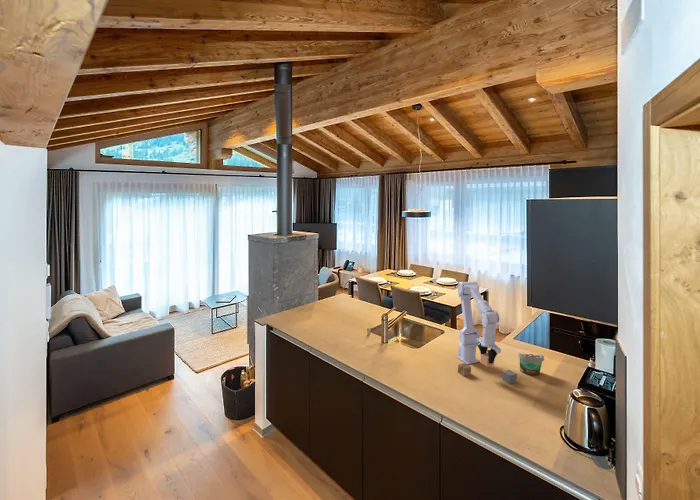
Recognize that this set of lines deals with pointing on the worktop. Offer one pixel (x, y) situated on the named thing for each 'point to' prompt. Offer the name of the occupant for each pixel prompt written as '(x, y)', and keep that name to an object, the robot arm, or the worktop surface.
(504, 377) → the charcoal block
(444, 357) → the worktop surface
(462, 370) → the walnut block
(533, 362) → the food container
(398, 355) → the worktop surface
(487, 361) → the terracotta block
